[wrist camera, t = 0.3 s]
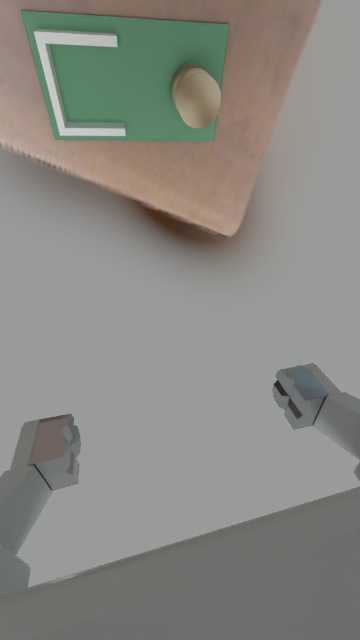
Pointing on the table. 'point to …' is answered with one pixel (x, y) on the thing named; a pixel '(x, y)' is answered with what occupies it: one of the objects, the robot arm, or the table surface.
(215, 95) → the maple canister
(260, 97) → the table surface
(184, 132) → the putting green
